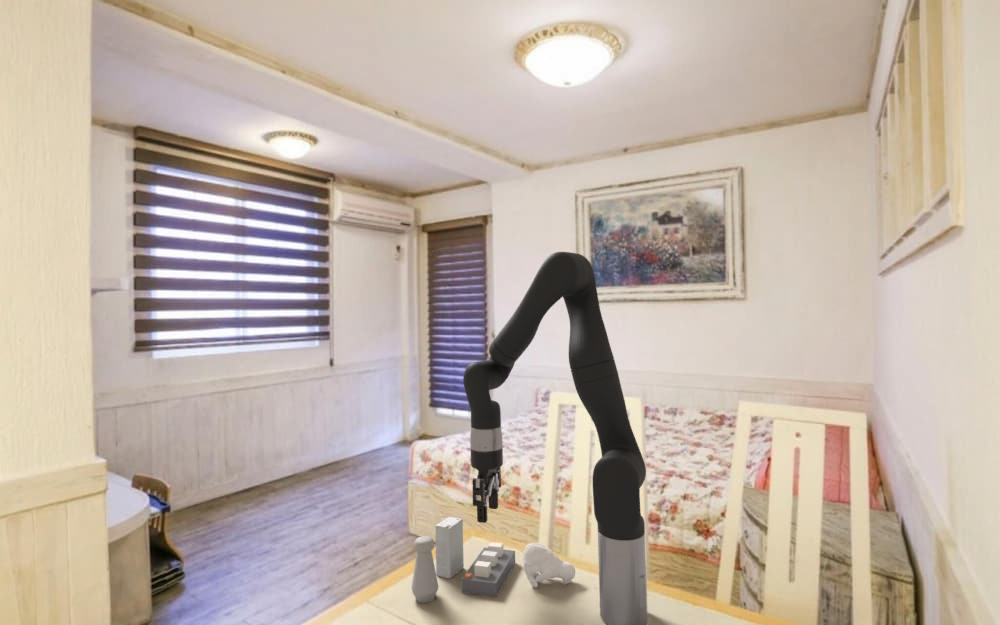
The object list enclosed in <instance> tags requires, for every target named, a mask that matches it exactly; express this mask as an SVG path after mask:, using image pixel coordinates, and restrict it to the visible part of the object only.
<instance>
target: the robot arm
mask: <svg viewBox="0 0 1000 625" xmlns="http://www.w3.org/2000/svg"><path fill="white" fill-rule="evenodd" d="M595 277H596V276H595V272H594V268H593V265H592V264H591V261H590V260H589V259H588V258H587V257H586V256H584V255H582V254H581V253H577V252H569V251H556V252H553V253H551V254H549V256H547V257H546V258H545V259H544V261H543V262H542V263H541V266H540V267H539V269H538V270H537V272H536V274H535V276H534V278H533V280H532V282H531V284H530V286H529V287H528V289H527V291H526V293H525V295H524V297H523V298H522V300H521V301H520V303H519V305H518V306H517V308H516V309H515V311H514V312H513V314H512V315H511V316H510V318H509V320H508V321H507V322H506V324H505V325H504V326H503V327H502V328H501V330H500V331H499V332H498V334H497V335H496V337H494V339H493V340H492V342H491V343H490V344H489V348H488V352H489V355H490V356H489V357H488V358H487V359H486V360H479V361H474V362H471V363H470V364H468V365H467V366H466V368H465V370H464V373H463V378H462V379H463V387H464V392H465V395H466V398H467V402H468V403H467V404H468V405H469V408H470V435H469V436H470V438H469V440H470V444H469V445H470V447H469V448H470V466H471V468H473V469H475V470H477V471H478V473H477V476H476V478H475V477H474V478H473V479H472V506H474V507H476V518H477V519H476V520H477V523H483V524H485V523H486V524H487V522H488V508H489V509H491V510H497V509H498V508H499V493H500V488H501V487H502V475H501V474H502V472H501V471H502V470H501V467H502V466H503V464H504V456H503V453H504V452H503V450H504V449H503V448H504V447H503V432H502V415H501V413H502V412H501V406H500V403H499V402H498V401H496V400H492V398H491V394H490V391H492V390H496V389H498V388H500V387H501V386H502V385H503V384H504V383H505V382H506V381H507V379H508V377H509V376H510V374H511V372H512V370H513V369H514V365H515V363H516V362H517V361H518V360H519V358H520V357H521V356H522V355H523V353H525V351H526V350H527V349H528V347H529V346H530V345H531V343H532V342H533V340H534V338H535V336H536V334H537V332H538V330H539V327H540V324H541V323H542V320H543V318H544V317H545V315H546V314H547V313H548V311H549V310H550V309H551V308H552V307H553V306H554V305H555V304H556V303H558V301H560V300H561V299H563V301H564V304H565V308H566V311H567V314H568V319H569V320H568V321H569V339H568V340H569V341H568V364H569V368H570V372H571V376H572V380H573V384H574V387H575V391H576V393H577V395H578V397H579V400H580V401H581V404H583V406H584V409H585V410H586V412H587V413H588V415H589V417H590V418H591V421H592V423H593V425H594V426H595V429H596V432H597V438H598V441H599V445H600V452H601V457H600V459H599V460H598V461H597V462H596V463H595V465H594V466H593V471H592V495H593V496H592V497H593V511H594V517H595V520H596V523H597V547H598V548H597V549H598V550H597V551H598V552H597V553H598V579H599V580H598V581H599V582H598V584H599V588H598V589H599V592H598V593H599V614H600V615H599V616H600V618H601V621H603V622H604V623H605V624H607V625H648V582H647V578H648V577H647V564H646V538H645V537H646V536H645V535H646V534H645V533H646V532H645V530H646V527H645V525H646V524H645V519H644V517H643V516H642V513H641V496H640V495H641V494H640V489H641V487H642V486H643V484H644V482H645V480H646V474H647V469H646V468H647V467H646V464H645V461H644V458H643V454H642V452H641V449H640V447H639V444H638V442H637V439H636V437H635V433H634V432H633V429H632V426H631V423H630V420H629V415H628V410H627V406H626V400H625V397H624V392H623V388H622V384H621V380H620V377H619V371H618V369H617V364H616V361H615V358H614V353H613V351H612V347H611V344H610V340H609V337H608V334H607V330H606V325H605V323H604V320H603V319H604V318H603V316H602V312H601V311H602V310H601V306H600V302H599V296H598V289H597V283H596V278H595Z"/></svg>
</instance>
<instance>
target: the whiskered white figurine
mask: <svg viewBox="0 0 1000 625" xmlns="http://www.w3.org/2000/svg"><path fill="white" fill-rule="evenodd" d="M522 560H523V569H524V573H525V575H526V577H527V578H526V579H527V580H528V581H529V583H530V584H531V586H532V587H534V588H538V587H539V583H540V582H544V581H547V580H549V579H555V578H557V579H561V580H562V583H563V586H565V585H567V584H570V583H571V581H573V579H575V577H576V569H575V566H574V565H573V564H572V563H570V562H568V561H563V560H562V559H561V558H560V557H559V556H558V555H557V554H556V553H554V551H553V550H552V549H550V548H549V547H547V546H546V545H545V544H543V543H539V542H532V543H528V544H526V546H525V548H524V551H523V559H522Z"/></svg>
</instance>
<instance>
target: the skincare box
mask: <svg viewBox="0 0 1000 625" xmlns="http://www.w3.org/2000/svg"><path fill="white" fill-rule="evenodd" d="M434 527H435V567H436V568H435V572H436V576H438V577H442V578H446V579H452V578H453V577H454V576H455V575H456V574H458V573H459V572H460V571H461V570H462V569H464V566H465V565H464V530H463V529H464V521H463V519H462V518H460V517H459V518H458V517H452V516H448V517H447V518H445V519H443V520H442V521H440V522H439V523H438V524H436V525H435V526H434Z"/></svg>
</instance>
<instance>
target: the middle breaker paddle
mask: <svg viewBox="0 0 1000 625" xmlns="http://www.w3.org/2000/svg"><path fill="white" fill-rule="evenodd" d="M481 557H482V561H484V562H491V566H493V567H495V566H496V564H497V562H498V559H497V552H492V551H484V552H483V553H482V555H481Z"/></svg>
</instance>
